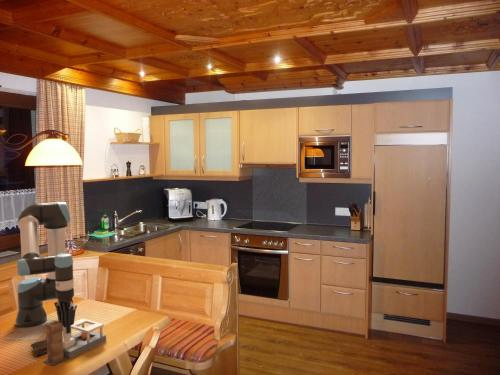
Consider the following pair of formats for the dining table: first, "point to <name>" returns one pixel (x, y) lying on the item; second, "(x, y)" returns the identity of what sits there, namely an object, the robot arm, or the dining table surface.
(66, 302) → the robot arm
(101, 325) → the two-tier post stand
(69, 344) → the on button
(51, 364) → the pad
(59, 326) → the brown rectangular block
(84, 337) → the plunger
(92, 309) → the dining table surface
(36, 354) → the rock
